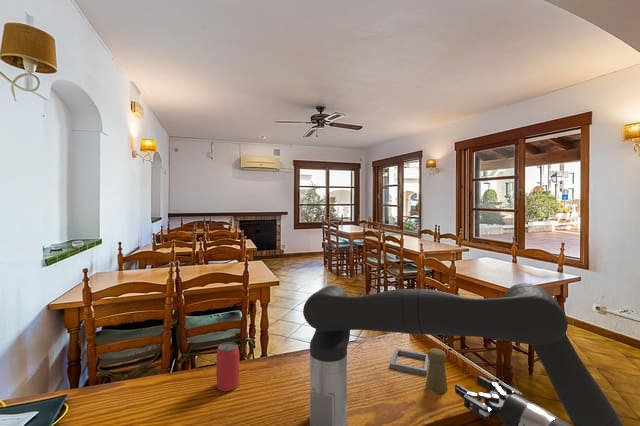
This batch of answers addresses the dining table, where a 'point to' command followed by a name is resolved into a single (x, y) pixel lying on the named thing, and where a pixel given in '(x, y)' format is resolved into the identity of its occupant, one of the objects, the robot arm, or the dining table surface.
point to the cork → (436, 371)
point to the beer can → (227, 366)
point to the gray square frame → (406, 367)
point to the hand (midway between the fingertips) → (467, 383)
